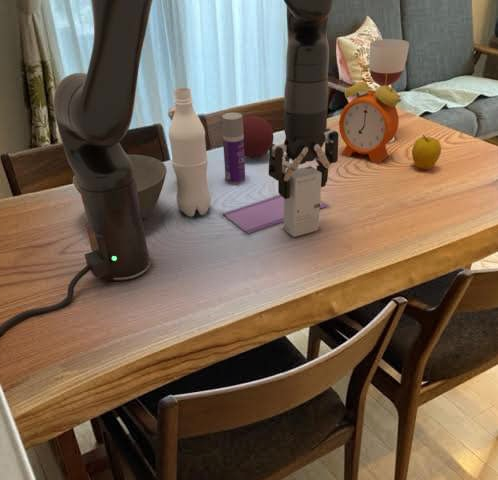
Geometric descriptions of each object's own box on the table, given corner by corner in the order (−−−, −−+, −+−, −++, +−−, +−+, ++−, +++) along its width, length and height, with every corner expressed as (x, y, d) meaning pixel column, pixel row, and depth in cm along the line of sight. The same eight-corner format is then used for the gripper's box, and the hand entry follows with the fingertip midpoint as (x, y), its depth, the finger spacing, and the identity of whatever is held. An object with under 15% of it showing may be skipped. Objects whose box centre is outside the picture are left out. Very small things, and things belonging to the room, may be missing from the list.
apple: (404, 164, 131) (409, 132, 126) (428, 161, 132) (434, 128, 127) (417, 175, 126) (423, 141, 121) (442, 171, 127) (449, 138, 122)
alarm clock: (335, 153, 137) (341, 70, 125) (347, 146, 141) (354, 64, 128) (383, 165, 131) (394, 78, 118) (394, 156, 135) (406, 71, 122)
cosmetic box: (293, 238, 106) (295, 180, 98) (282, 228, 109) (282, 171, 101) (320, 230, 108) (323, 172, 100) (307, 220, 111) (310, 164, 103)
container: (243, 185, 125) (240, 119, 116) (223, 183, 126) (219, 119, 116) (247, 176, 129) (244, 112, 119) (228, 175, 129) (224, 111, 120)
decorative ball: (232, 151, 141) (229, 112, 134) (269, 147, 142) (269, 108, 136) (237, 166, 133) (235, 126, 127) (277, 162, 134) (277, 122, 128)
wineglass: (401, 134, 146) (414, 40, 132) (387, 146, 140) (400, 50, 125) (369, 128, 150) (379, 37, 136) (354, 140, 144) (363, 46, 129)
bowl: (89, 200, 122) (79, 157, 115) (173, 194, 122) (167, 151, 116) (76, 243, 107) (64, 197, 101) (171, 235, 108) (165, 189, 102)
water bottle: (194, 200, 120) (182, 81, 104) (218, 209, 116) (209, 87, 100) (171, 212, 116) (154, 91, 100) (195, 222, 112) (182, 98, 96)
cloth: (247, 234, 108) (247, 232, 107) (222, 214, 114) (222, 213, 114) (326, 206, 116) (326, 205, 115) (298, 190, 122) (299, 188, 122)
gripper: (324, 91, 98) (320, 175, 109) (259, 107, 93) (261, 194, 103) (351, 101, 93) (344, 188, 104) (284, 119, 88) (283, 209, 98)
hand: (302, 191), depth 103 cm, fingers open, 8 cm apart
